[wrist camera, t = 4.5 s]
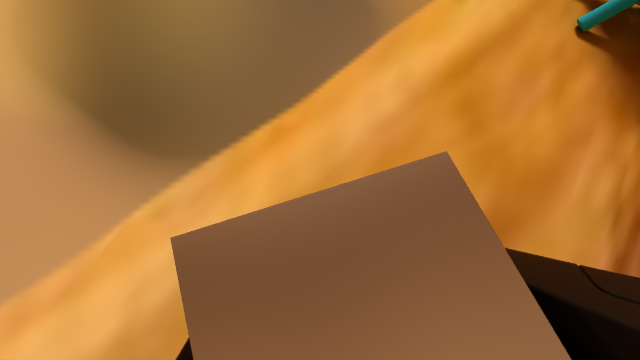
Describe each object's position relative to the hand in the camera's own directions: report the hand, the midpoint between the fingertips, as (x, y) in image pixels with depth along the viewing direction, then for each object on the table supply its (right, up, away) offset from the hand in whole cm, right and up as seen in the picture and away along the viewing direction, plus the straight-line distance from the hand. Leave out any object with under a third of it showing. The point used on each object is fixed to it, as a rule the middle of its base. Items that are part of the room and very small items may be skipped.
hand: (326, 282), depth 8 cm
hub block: (0, -4, +5) cm, 7 cm away
